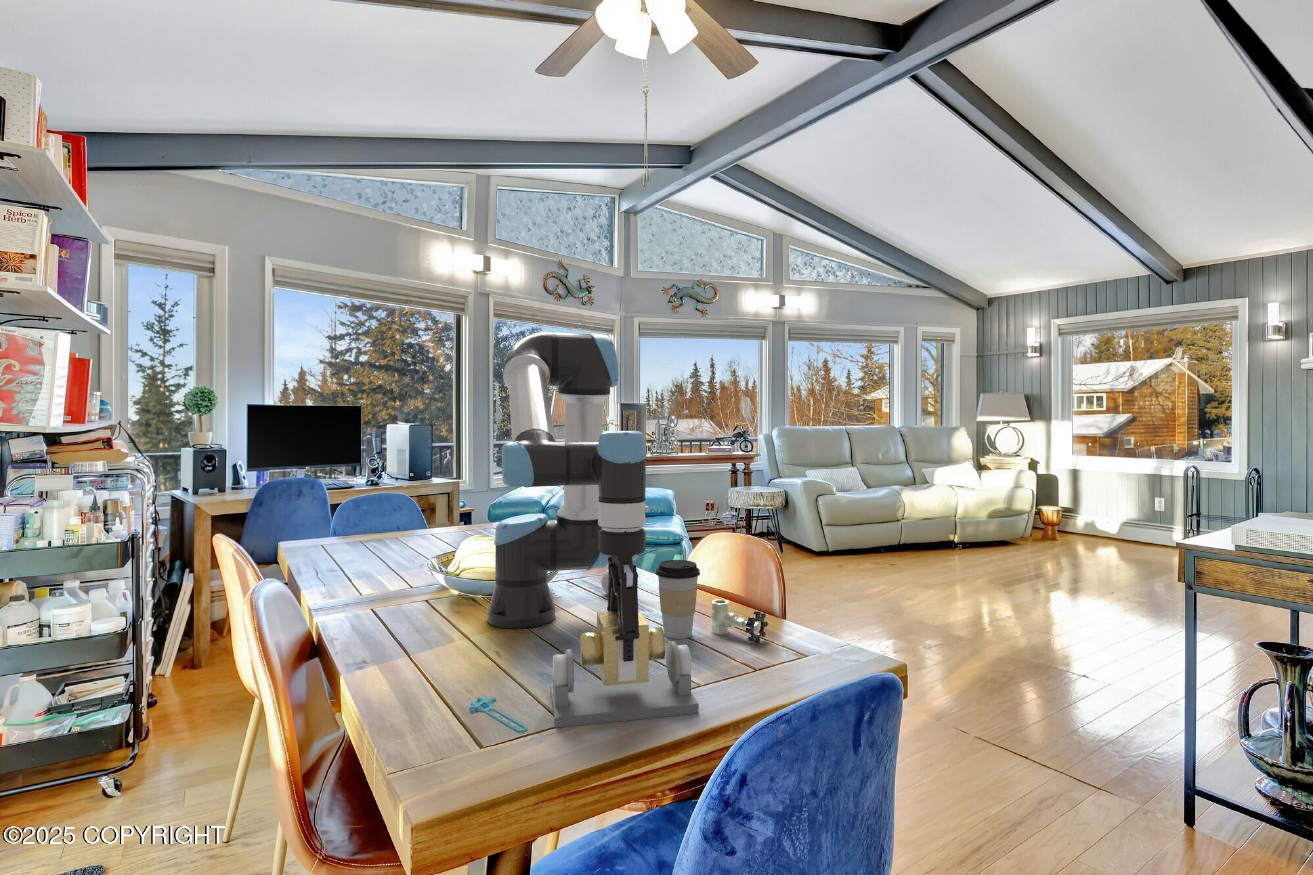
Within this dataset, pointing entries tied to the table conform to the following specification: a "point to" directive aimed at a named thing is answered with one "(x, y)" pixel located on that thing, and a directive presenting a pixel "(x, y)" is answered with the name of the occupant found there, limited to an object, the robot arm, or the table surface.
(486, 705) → the adjustable wrench
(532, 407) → the robot arm
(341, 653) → the table surface
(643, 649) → the brass gate valve
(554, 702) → the pipe run plate
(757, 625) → the valve
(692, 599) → the coffee cup
